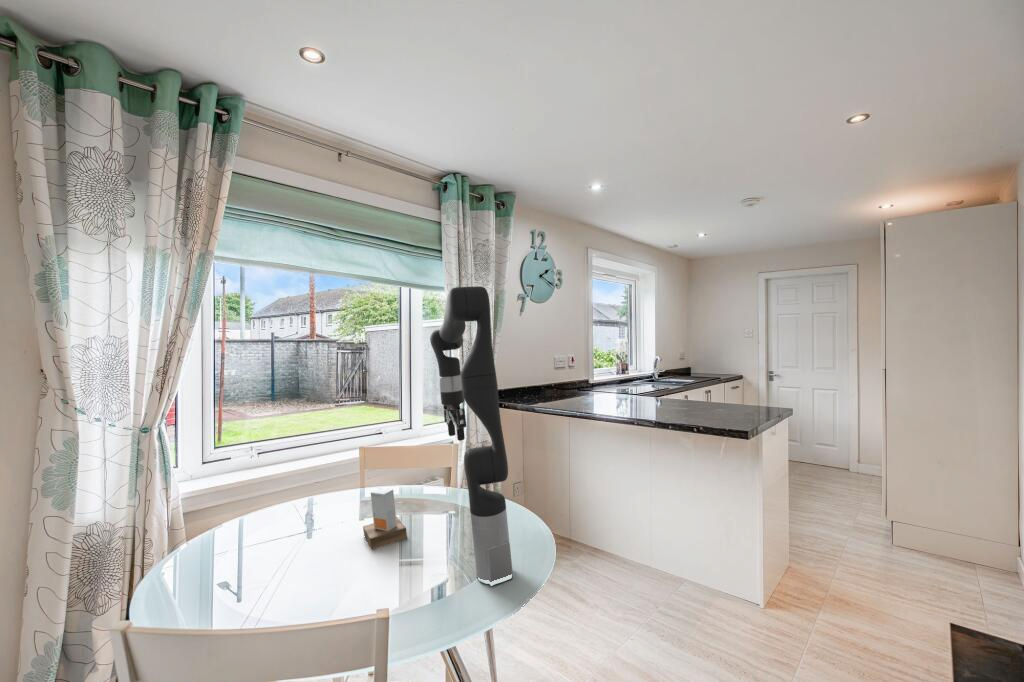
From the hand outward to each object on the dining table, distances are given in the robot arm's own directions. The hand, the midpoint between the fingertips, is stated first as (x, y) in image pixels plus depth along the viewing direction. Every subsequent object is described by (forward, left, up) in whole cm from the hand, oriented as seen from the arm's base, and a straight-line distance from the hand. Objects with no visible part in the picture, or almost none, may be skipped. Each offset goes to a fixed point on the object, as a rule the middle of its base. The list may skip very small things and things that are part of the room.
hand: (456, 437), depth 151 cm
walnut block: (+6, +25, -29) cm, 39 cm away
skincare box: (+5, +25, -25) cm, 36 cm away
